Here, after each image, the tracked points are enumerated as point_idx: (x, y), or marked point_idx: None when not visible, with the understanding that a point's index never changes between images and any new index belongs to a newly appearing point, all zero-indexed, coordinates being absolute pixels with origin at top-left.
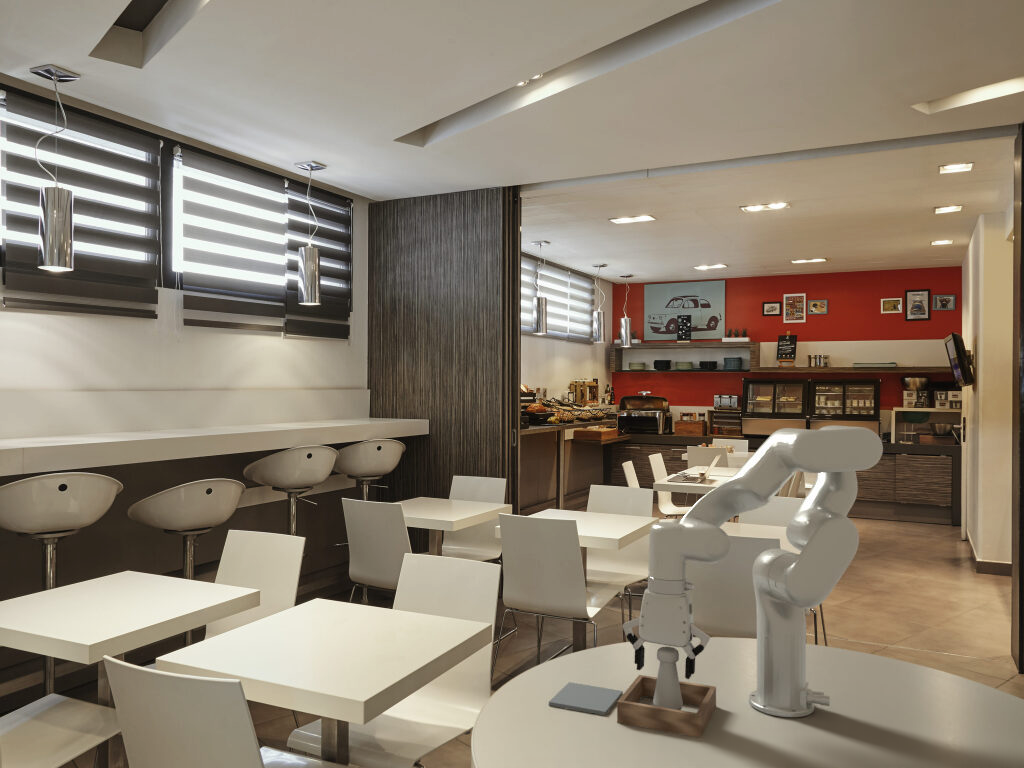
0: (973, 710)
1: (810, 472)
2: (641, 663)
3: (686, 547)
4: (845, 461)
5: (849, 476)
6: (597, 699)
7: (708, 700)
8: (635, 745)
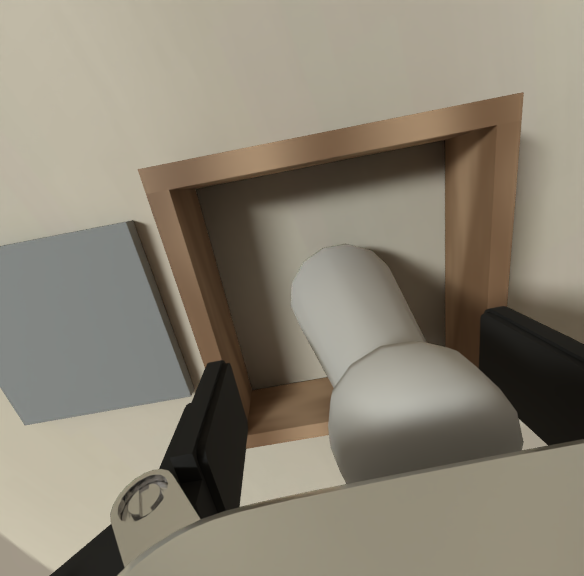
0: None
1: None
2: (240, 431)
3: None
4: None
5: None
6: (113, 337)
7: (507, 278)
8: (334, 468)
